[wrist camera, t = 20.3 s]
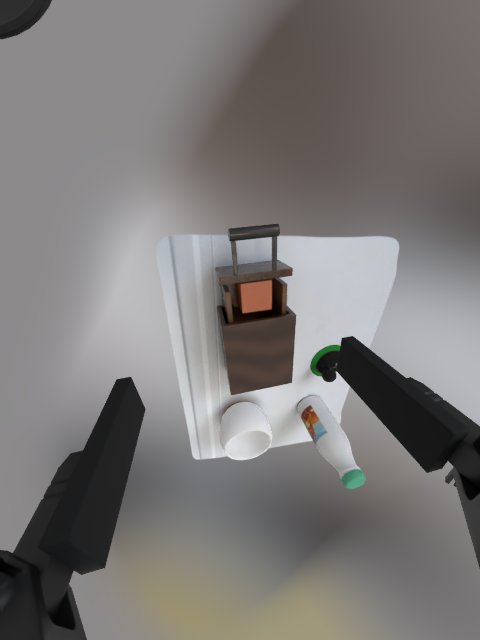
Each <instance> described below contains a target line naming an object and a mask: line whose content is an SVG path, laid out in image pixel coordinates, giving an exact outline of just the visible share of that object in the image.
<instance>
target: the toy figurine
mask: <svg viewBox="0 0 480 640" xmlns="http://www.w3.org/2000/svg"><path fill="white" fill-rule="evenodd" d="M339 351H340V346H338V345H332V346H328V347H325V348H324V349H322V350H320V351H319V352H318V353H317V354H316V355H315V356H314V358H313V360H312V362H311V370H312V372H313V373H314V374H315V375H317V376H322V378H323V379H324V380H325V381H326V382H332V381H334V380H335V379H336V373H335V372H336V366H337V361H338V356H339Z"/></svg>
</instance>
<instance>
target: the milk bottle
mask: <svg viewBox="0 0 480 640" xmlns="http://www.w3.org/2000/svg"><path fill="white" fill-rule="evenodd" d="M298 412H299V414H300V416H301V418H302V420H303V422H304V424H305V426H306V428H307V430H308V432H309V434H310V436H311V438H312V440H313V441H314V443H315V445H316V447H317V449H318V450H319V452H320V453H321V454H322V456H323V457H324V458H325V459H326V460H327V461H328V462H329V463H331V464H332V465H333V466H334V467H335V469H336V470H337V471H338V472H339V474H340V478H341V479H342V482H343V484H344V485H345V487H346V488H347V489H354V488H357V487H359V486H361V485H362V484H363V483H364V482H365V481H366V478H365V476H364V474H363V472H362V471H361V470H360V468H359V467H357V466H356V463H355V461H354V458H353V455H352V451H351V446H350V443H349V440H348V438H347V436H346V435H345V433H344V431H343V430H342V428H341V427H340V425H339V424H338V422H337V421H336V419H335V418H334V416H333V415H332V413H331V412H330V410H329V409H328V407H327V406H326V404H325V403H324V401H323V400H322V399H321V398H320V397H319V396H315V395H314V396H308V397H306V398H304V399H303V400H302V401H301V402H300V403H299V404H298Z"/></svg>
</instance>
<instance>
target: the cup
mask: <svg viewBox="0 0 480 640" xmlns="http://www.w3.org/2000/svg"><path fill="white" fill-rule="evenodd" d="M219 433H220V442H221V445H222V447H223V450H224V452H225V454H226V456H228V457H230V458H231V459H234V460H248V459H252V458H254V457H257V456H259V455H261V454H262V453H264V452H265V451H266V450H267V449H268V448H269V447H270V445H271V442H272V431H271V427H270V424H269V421H268V418H267V416H266V414H265V413H264V412H263V410H262V409H261V408H260V407H258V406H257V405H255V404H254V403H250V402H240V403H237V404H234V405H232V406H231V407H229V408H228V409H227V411H226V412H225V414H224V415H223V416H222V420H221V425H220V431H219Z"/></svg>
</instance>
